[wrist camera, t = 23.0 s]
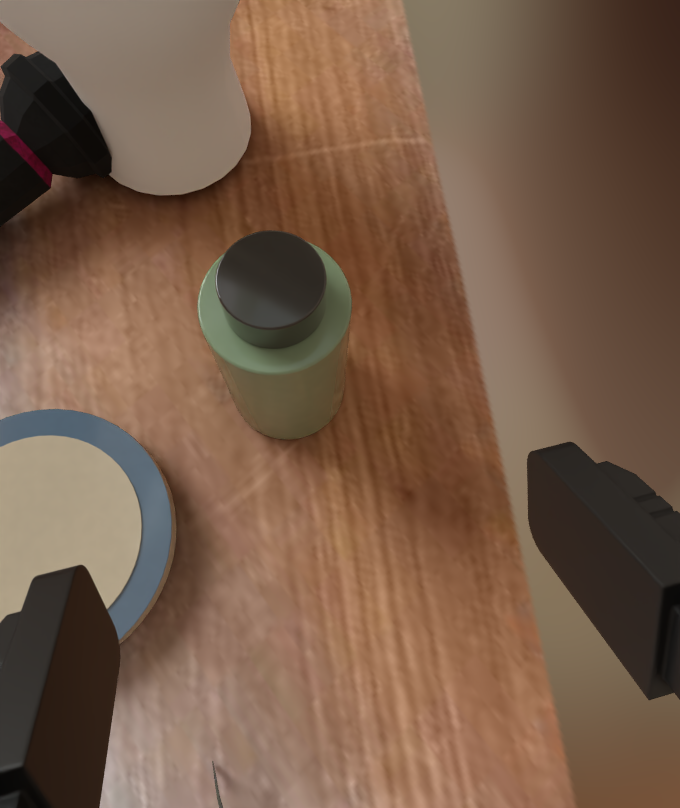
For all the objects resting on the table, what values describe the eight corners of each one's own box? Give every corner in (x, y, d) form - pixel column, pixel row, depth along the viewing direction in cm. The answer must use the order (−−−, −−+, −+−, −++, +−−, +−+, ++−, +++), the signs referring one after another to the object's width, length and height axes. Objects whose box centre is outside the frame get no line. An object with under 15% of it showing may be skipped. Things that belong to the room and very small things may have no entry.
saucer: (-26, 731, 23) (-51, 740, 21) (-111, 491, 25) (-139, 484, 24) (222, 590, 24) (216, 590, 23) (120, 379, 27) (108, 366, 25)
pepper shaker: (216, 419, 26) (159, 325, 17) (256, 321, 28) (223, 186, 19) (323, 455, 26) (322, 378, 17) (358, 354, 27) (375, 233, 18)
